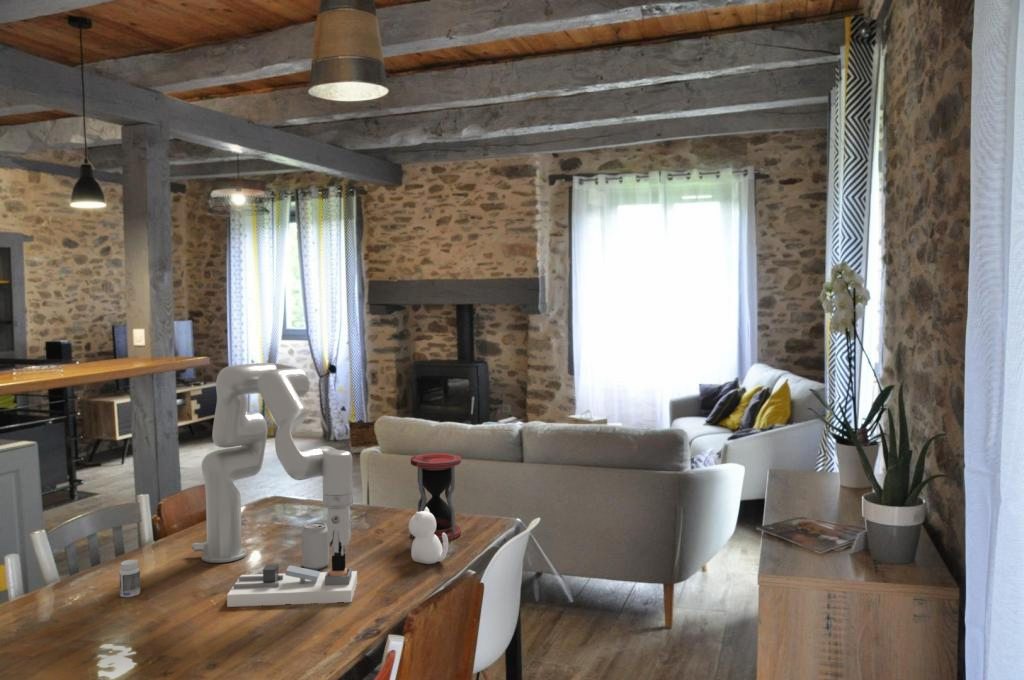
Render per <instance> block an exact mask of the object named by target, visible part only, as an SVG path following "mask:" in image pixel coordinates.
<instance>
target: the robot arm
mask: <svg viewBox="0 0 1024 680" xmlns="http://www.w3.org/2000/svg"><path fill="white" fill-rule="evenodd" d="M215 389H216V406H215V411H214V420H213V424H212V425H213V426H212V436H211V437H212V441H213V444H214V445H215V446H216V447H219V448H222V449H218V450H214V451H211V452H209V453H208V454H206V455H205V456H204V457H203V459H202V462H201V472H202V477H203V482H204V489H205V507H206V509H205V510H206V513H205V514H206V515H205V516H206V517H205V518H206V541H204V542H195V543H194V542H192V546H191V547H192V549H191V550H193V552H202V553H201V556H200V557H201V560H202V562H206V563H212V564H223V563H231V562H234V561H239V560H241V559H243V558H245V557H246V556H247V555H248V549H247V548H245V547H243V546H242V502H241V501H242V499H241V494H240V491H239V489H238V488H237V486H236V485H235V483H234V481H237V480H241V479H247V478H251V477H254V476H256V475H257V474H258V473H259V472H260V471H261V469H262V466H263V465H264V464H263V463H264V456H265V450H266V445H267V440H268V439H267V438H268V430H269V429H268V423H267V420H266V418H265V417H264V416H263V414H262V413H260V412H258V411H248V407H249V403H248V398H247V395H254V394H255V395H257V394H260V396H261V397H262V399H263V401H264V403H265V405H266V406H267V409H268V410H269V412H270V414H271V415H272V416H271V417H272V418H273V419H274V421H275V423H276V425H277V430H276V432H275V438H274V446H275V454H276V456H277V459H278V460H279V462H280V464H281V465H282V467H283V470H284V471H285V472H286V473H287V475H288V476H289V477H290V478H292V480H296V481H303V480H308V479H313V478H317V477H322V506H323V507H324V508H326V510H327V511H326V513H327V514H326V516H327V517H326V519H327V520H326V521H327V522H326V527H327V533H328V546H329V548H331V554H332V555H331V569H332V571H344V570H345V568H346V553H345V552H346V549H345V548H346V547H347V546H348V545H349V543H350V541H351V538H352V527H351V525H352V524H351V509H350V508H351V507H352V506H353V505H354V498H353V497H354V494H353V493H354V490H353V489H354V488H353V487H354V486H353V485H354V483H353V479H354V478H353V477H354V476H353V472H354V471H353V456H352V452H350V451H348V450H342V449H337V448H334V447H332V446H329V445H324V446H323V445H321V446H317V447H311V448H310V447H309V448H306V449H300V450H299V448H298V446H297V445H296V442H295V441H294V439H293V435H292V431H294V430H295V429H296V428H297V427H299V426H301V425H302V423H304V422H305V420H306V419H307V417H308V415H309V413H308V409H307V407H306V406H305V404H304V402H303V401H302V399H301V398H302V397H304V396H305V395H307V393H308V392H309V391H310V379H309V376H308V375H307V373H306V372H305V371H304V370H302V369H301V368H299V367H296V366H292V365H287V364H282V363H276V362H262V363H247V364H246V363H245V364H235V365H230V366H226V367H224V368H222V369H221V370H220V371H219V373H218V374H217V377H216V382H215Z"/></svg>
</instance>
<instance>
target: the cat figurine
mask: <svg viewBox="0 0 1024 680" xmlns="http://www.w3.org/2000/svg"><path fill="white" fill-rule="evenodd" d="M408 530H409V533H410V535H411V534H412V535H413V536H414V537H416V538H413V541H412V544H411V548H410V550H411V552H410V555H411V559H412V560H413V561H414V562H416V563H422V564H427V565H433V564H436V563H437V562H442V561H443V560H444V559H445V558H446V556H447V555H448V550H449V540H448V538H447V535H446V534H445V533H442V539H443V541H440V540H439V538H438V537H437V536H436V535H435V534H433V533H434V532H435V530H436V520H435V517H434V516H433V514H432V513H430V511H429V509H428V508H427V507H426V508H425V510H424V511H421V512H418V511H416V512H415V514H414V515H413V516H412V517H411V518H410V520H409V522H408ZM441 542H443V543H441ZM442 544H443V545H442Z"/></svg>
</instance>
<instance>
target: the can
mask: <svg viewBox="0 0 1024 680" xmlns="http://www.w3.org/2000/svg"><path fill="white" fill-rule="evenodd" d="M329 563H330V546H328V533H327V522H326V523H325V522H323V521H322V522H321V521H312V522H308V523H305V524H304V525H303V529H302V530H301V565H302V566H303V567H304V568H305V569H310V570H315V571H317V570H321V569H324V568H325V567H327V565H329Z"/></svg>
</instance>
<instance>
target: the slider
mask: <svg viewBox="0 0 1024 680" xmlns="http://www.w3.org/2000/svg"><path fill="white" fill-rule="evenodd" d="M262 574H263V583H273V582H277V581H278V580H279V574H280V573H279V564H278V563H276V564H265V566H264V568H263V569H262Z"/></svg>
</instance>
